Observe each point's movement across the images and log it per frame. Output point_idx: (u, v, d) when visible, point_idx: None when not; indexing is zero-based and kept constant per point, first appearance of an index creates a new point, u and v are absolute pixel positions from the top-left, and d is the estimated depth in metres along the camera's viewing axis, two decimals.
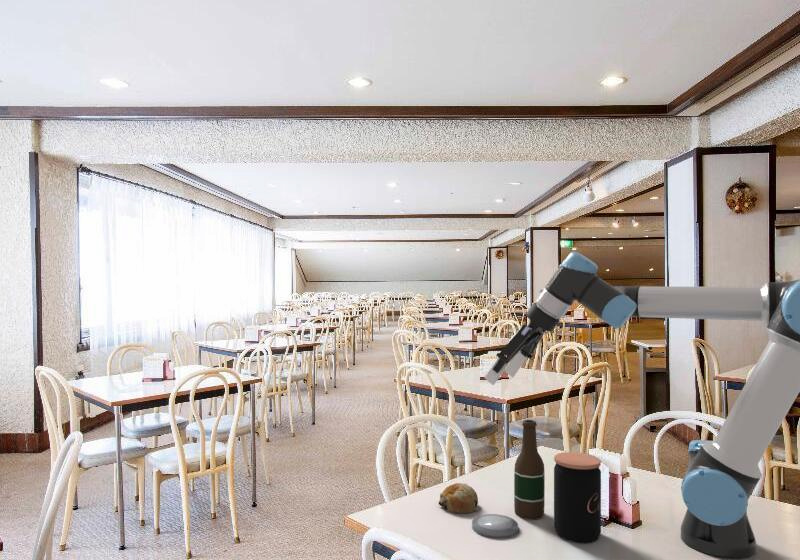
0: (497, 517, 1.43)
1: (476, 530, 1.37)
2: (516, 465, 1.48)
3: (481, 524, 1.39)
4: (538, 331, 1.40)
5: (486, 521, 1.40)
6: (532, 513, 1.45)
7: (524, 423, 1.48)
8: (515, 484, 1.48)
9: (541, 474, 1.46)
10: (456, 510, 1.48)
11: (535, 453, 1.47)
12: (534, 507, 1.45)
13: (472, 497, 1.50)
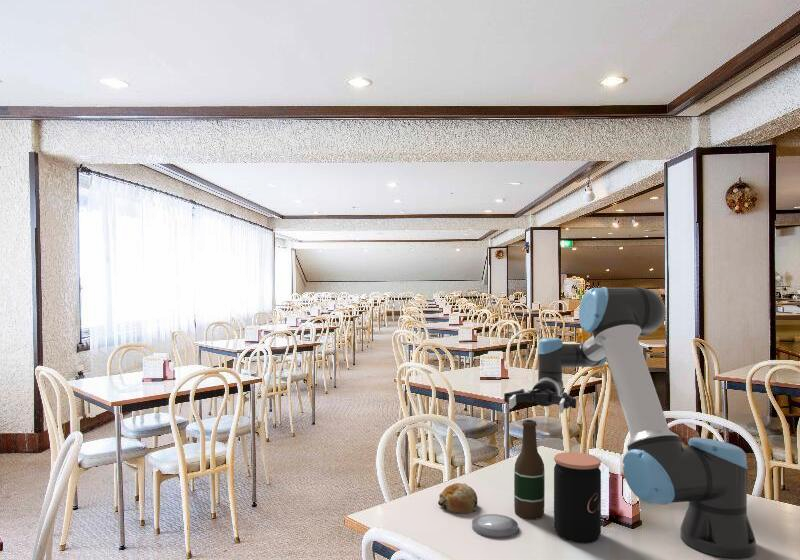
0: (497, 517, 1.43)
1: (476, 530, 1.37)
2: (516, 465, 1.48)
3: (481, 524, 1.39)
4: (544, 391, 1.72)
5: (486, 521, 1.40)
6: (532, 513, 1.45)
7: (524, 423, 1.48)
8: (515, 484, 1.48)
9: (541, 474, 1.46)
10: (455, 510, 1.48)
11: (535, 453, 1.47)
12: (534, 507, 1.45)
13: (471, 497, 1.50)
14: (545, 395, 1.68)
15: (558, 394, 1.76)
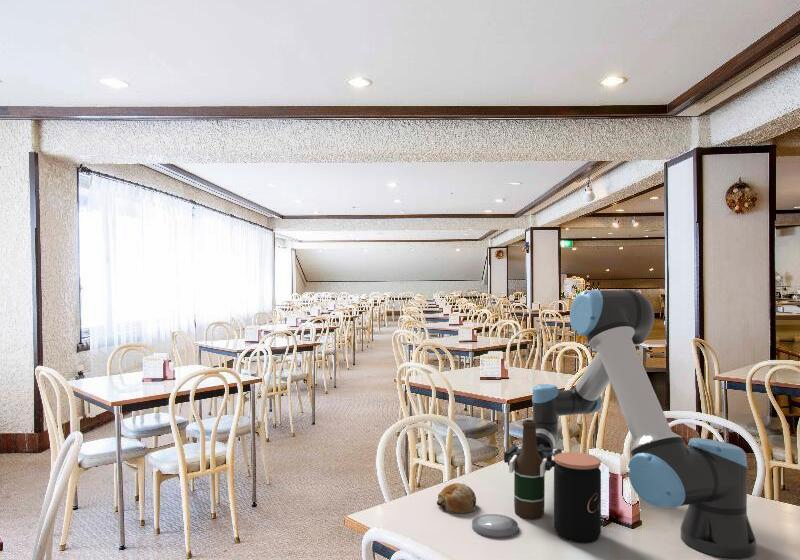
0: (497, 517, 1.43)
1: (476, 530, 1.37)
2: (516, 465, 1.48)
3: (481, 524, 1.39)
4: (538, 446, 1.60)
5: (486, 521, 1.40)
6: (532, 513, 1.45)
7: (524, 423, 1.48)
8: (515, 484, 1.48)
9: None
10: (454, 510, 1.48)
11: (535, 453, 1.47)
12: (534, 506, 1.45)
13: (470, 497, 1.50)
14: (539, 451, 1.56)
15: (553, 448, 1.64)
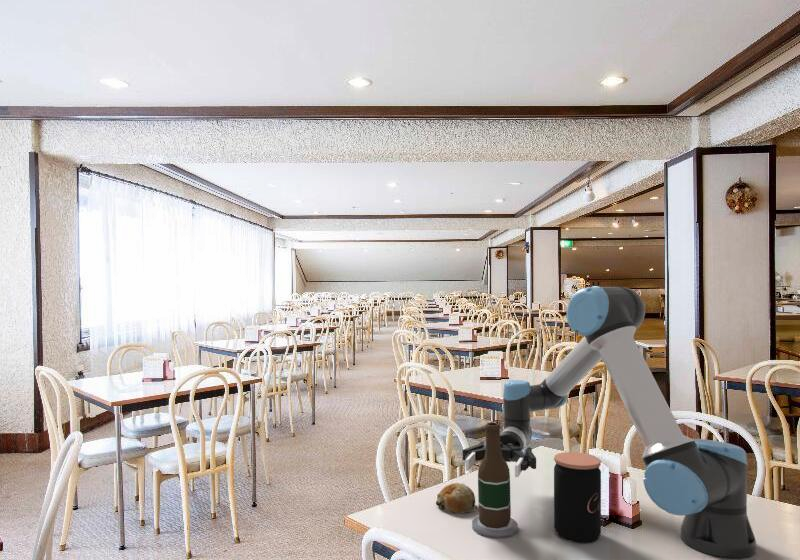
0: None
1: (476, 530, 1.37)
2: (479, 471, 1.39)
3: (481, 524, 1.39)
4: (506, 445, 1.51)
5: None
6: (496, 521, 1.36)
7: (487, 426, 1.38)
8: (479, 491, 1.39)
9: (506, 480, 1.37)
10: (453, 510, 1.48)
11: (499, 458, 1.38)
12: (498, 515, 1.36)
13: (469, 497, 1.50)
14: (507, 451, 1.48)
15: (523, 447, 1.56)
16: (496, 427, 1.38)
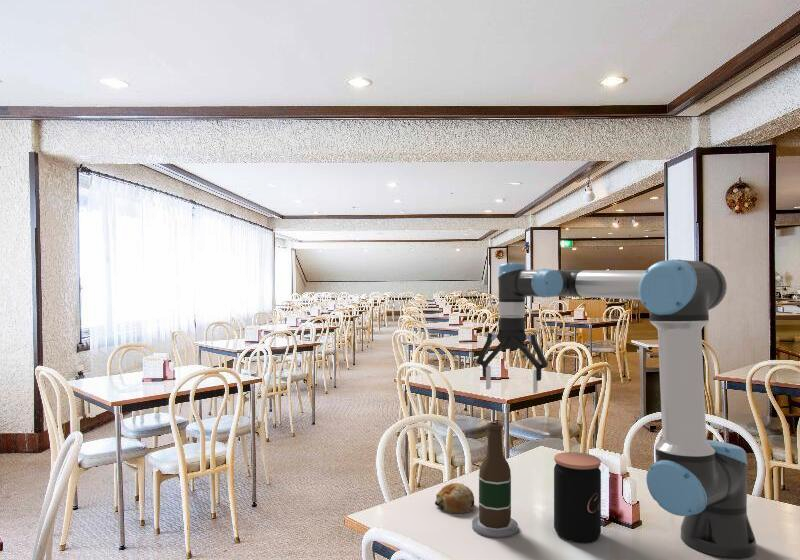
0: None
1: (476, 530, 1.37)
2: (481, 470, 1.39)
3: (481, 524, 1.39)
4: (512, 336, 1.65)
5: None
6: (496, 521, 1.36)
7: (489, 426, 1.39)
8: (480, 491, 1.39)
9: (507, 480, 1.37)
10: (452, 510, 1.48)
11: (501, 458, 1.38)
12: (499, 515, 1.36)
13: (468, 497, 1.50)
14: None
15: (524, 314, 1.65)
16: (498, 427, 1.38)
